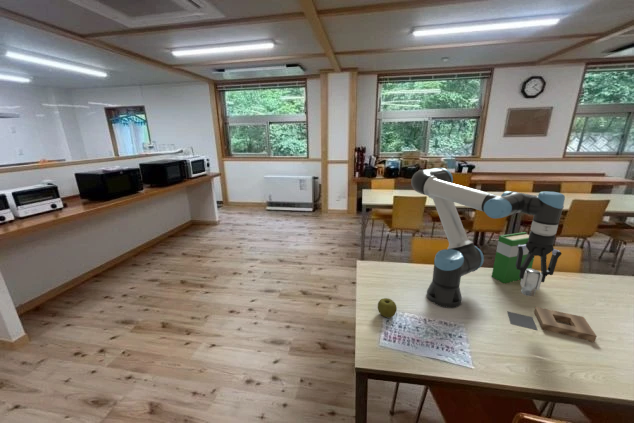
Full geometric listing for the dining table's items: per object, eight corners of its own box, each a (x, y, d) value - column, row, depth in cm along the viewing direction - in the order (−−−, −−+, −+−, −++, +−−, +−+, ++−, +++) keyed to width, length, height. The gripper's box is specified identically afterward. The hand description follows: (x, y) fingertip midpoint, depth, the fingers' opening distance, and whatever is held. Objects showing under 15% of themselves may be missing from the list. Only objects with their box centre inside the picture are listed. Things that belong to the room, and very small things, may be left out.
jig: (541, 329, 109) (543, 323, 108) (533, 312, 119) (535, 306, 118) (594, 342, 102) (596, 336, 101) (581, 322, 112) (583, 316, 111)
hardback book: (516, 271, 153) (524, 231, 146) (529, 278, 146) (539, 236, 140) (491, 276, 148) (499, 235, 142) (503, 283, 142) (512, 240, 135)
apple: (379, 308, 123) (380, 294, 121) (397, 312, 120) (398, 298, 118) (375, 318, 117) (376, 303, 115) (394, 323, 114) (395, 308, 112)
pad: (510, 324, 112) (510, 323, 112) (506, 312, 120) (507, 311, 119) (537, 331, 108) (537, 330, 108) (532, 317, 116) (532, 316, 116)
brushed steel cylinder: (522, 294, 109) (527, 272, 106) (519, 289, 113) (525, 267, 110) (535, 297, 107) (541, 275, 104) (532, 291, 111) (538, 269, 108)
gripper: (517, 232, 103) (505, 286, 110) (576, 239, 96) (559, 297, 102) (513, 226, 109) (502, 277, 116) (568, 232, 102) (553, 287, 109)
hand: (529, 286), depth 109 cm, fingers closed on brushed steel cylinder, 4 cm apart
